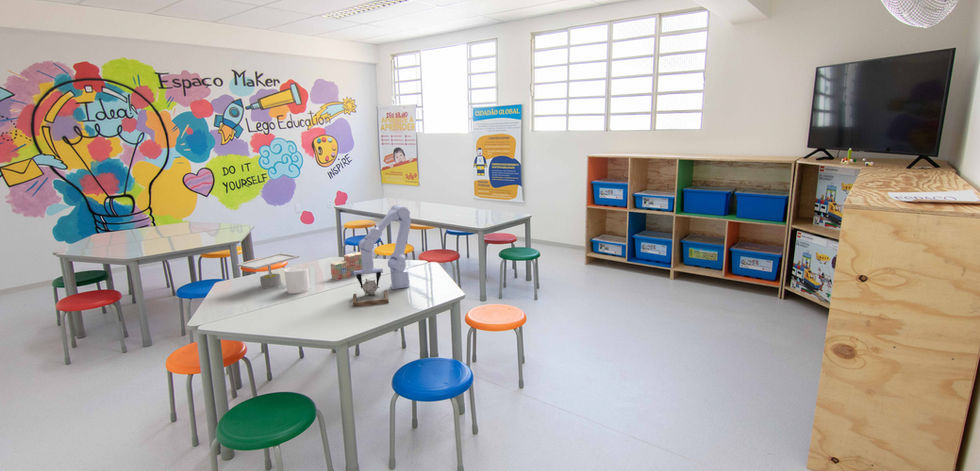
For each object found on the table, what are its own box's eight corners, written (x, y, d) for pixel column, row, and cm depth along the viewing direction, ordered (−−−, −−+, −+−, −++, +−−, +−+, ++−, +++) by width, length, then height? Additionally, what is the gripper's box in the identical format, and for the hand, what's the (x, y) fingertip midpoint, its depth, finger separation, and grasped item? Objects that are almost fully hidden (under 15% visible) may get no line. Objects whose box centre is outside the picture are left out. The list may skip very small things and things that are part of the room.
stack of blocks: (337, 280, 287) (335, 259, 285) (331, 278, 292) (329, 258, 289) (368, 272, 303) (367, 252, 300) (363, 270, 307) (361, 250, 304)
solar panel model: (258, 294, 266) (255, 267, 263) (239, 290, 275) (236, 264, 272) (302, 280, 289) (299, 255, 286) (283, 277, 298) (280, 252, 295)
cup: (295, 286, 278) (292, 265, 276) (314, 287, 276) (311, 266, 273) (282, 293, 267) (279, 271, 265) (302, 294, 265) (299, 272, 262)
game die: (374, 300, 261) (385, 284, 261) (367, 300, 253) (378, 283, 253) (362, 290, 264) (372, 274, 263) (354, 290, 255) (364, 274, 255)
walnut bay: (387, 293, 259) (387, 290, 259) (388, 302, 246) (388, 299, 245) (353, 297, 255) (353, 293, 255) (353, 306, 242) (352, 303, 241)
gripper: (381, 258, 263) (383, 283, 266) (353, 261, 260) (355, 286, 263) (382, 262, 256) (384, 287, 259) (352, 264, 253) (355, 290, 256)
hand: (369, 287), depth 261 cm, fingers open, 7 cm apart
